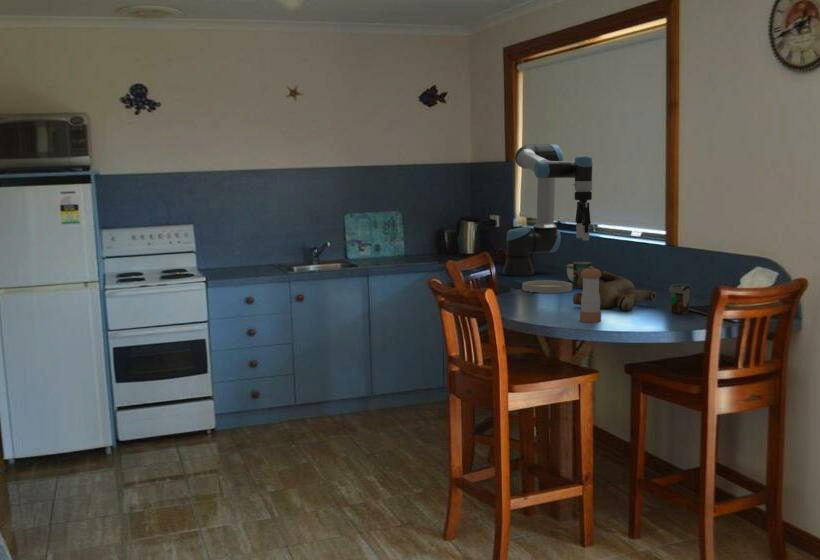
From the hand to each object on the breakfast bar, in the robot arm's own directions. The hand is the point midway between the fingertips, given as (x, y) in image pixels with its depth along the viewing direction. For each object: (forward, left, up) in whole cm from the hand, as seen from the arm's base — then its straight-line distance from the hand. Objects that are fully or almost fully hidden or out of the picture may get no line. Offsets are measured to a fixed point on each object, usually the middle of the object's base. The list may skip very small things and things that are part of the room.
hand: (582, 239), depth 379 cm
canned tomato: (0, 0, -22) cm, 22 cm away
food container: (+70, +20, -22) cm, 76 cm away
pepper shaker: (+85, -15, -22) cm, 89 cm away
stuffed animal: (+54, +2, -22) cm, 58 cm away
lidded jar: (-18, +2, -22) cm, 28 cm away
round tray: (+8, -17, -21) cm, 28 cm away
